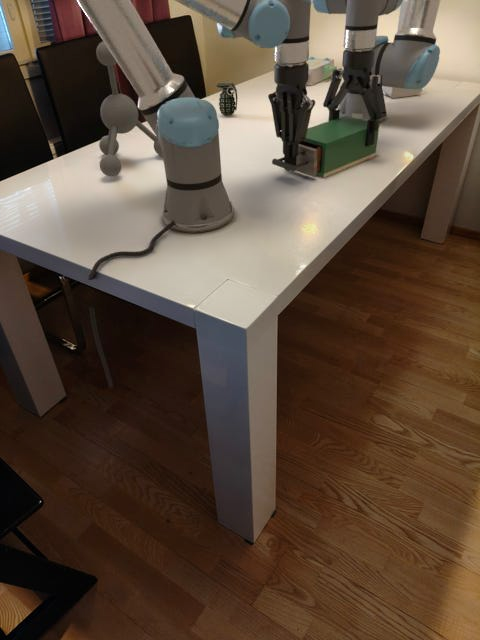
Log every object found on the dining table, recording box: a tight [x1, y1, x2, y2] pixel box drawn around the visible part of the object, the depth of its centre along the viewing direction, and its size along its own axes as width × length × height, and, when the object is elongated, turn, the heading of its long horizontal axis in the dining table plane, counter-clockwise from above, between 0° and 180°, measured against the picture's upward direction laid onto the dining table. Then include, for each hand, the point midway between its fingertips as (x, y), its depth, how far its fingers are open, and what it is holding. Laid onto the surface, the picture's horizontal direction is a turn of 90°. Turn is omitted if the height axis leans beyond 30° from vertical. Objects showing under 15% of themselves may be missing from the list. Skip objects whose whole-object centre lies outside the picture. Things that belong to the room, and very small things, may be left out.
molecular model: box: [95, 41, 163, 178], centre depth 128 cm, size 24×22×30 cm
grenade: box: [215, 82, 238, 117], centre depth 166 cm, size 7×6×10 cm
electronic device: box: [382, 0, 423, 99], centre depth 171 cm, size 12×8×30 cm, turn 105°
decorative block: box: [306, 56, 338, 86], centre depth 205 cm, size 26×6×20 cm
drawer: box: [271, 141, 323, 178], centre depth 125 cm, size 25×10×6 cm, turn 130°
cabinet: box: [304, 116, 380, 178], centre depth 128 cm, size 21×12×8 cm, turn 130°
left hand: (290, 168), depth 121 cm, fingers closed
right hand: (350, 140), depth 131 cm, fingers closed on cabinet, 11 cm apart
